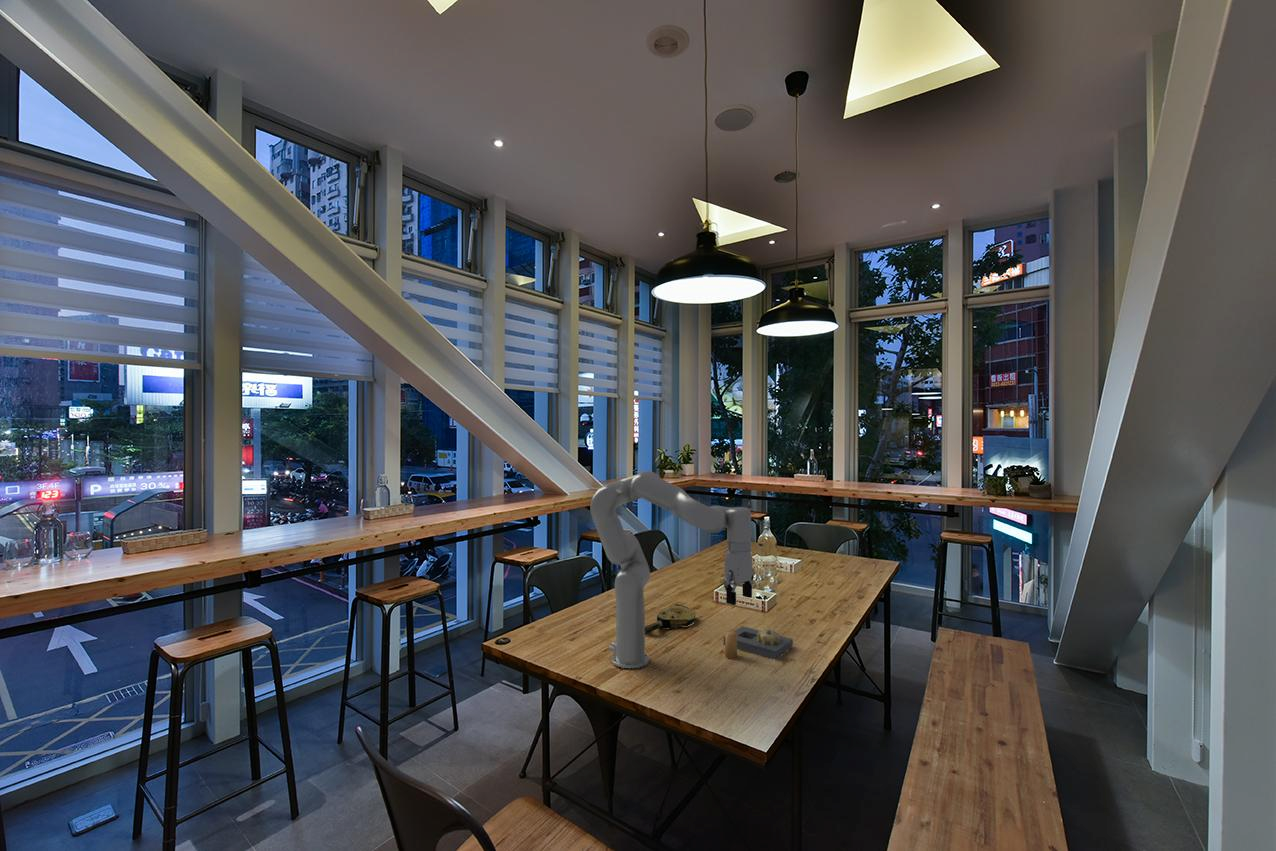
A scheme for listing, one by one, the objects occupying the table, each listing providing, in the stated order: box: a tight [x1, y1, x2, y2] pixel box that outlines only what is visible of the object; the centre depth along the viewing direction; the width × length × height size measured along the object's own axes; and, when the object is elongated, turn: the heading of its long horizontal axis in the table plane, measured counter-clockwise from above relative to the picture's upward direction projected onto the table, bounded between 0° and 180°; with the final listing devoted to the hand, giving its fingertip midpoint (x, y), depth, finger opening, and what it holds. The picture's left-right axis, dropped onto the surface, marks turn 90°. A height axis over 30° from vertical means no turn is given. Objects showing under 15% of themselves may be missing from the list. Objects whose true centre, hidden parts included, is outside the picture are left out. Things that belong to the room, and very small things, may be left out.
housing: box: [723, 626, 794, 661], centre depth 192 cm, size 20×14×6 cm
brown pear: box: [724, 630, 738, 660], centre depth 183 cm, size 4×4×8 cm
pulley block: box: [645, 603, 704, 634], centre depth 213 cm, size 14×6×30 cm
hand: (739, 600), depth 171 cm, fingers open, 9 cm apart
